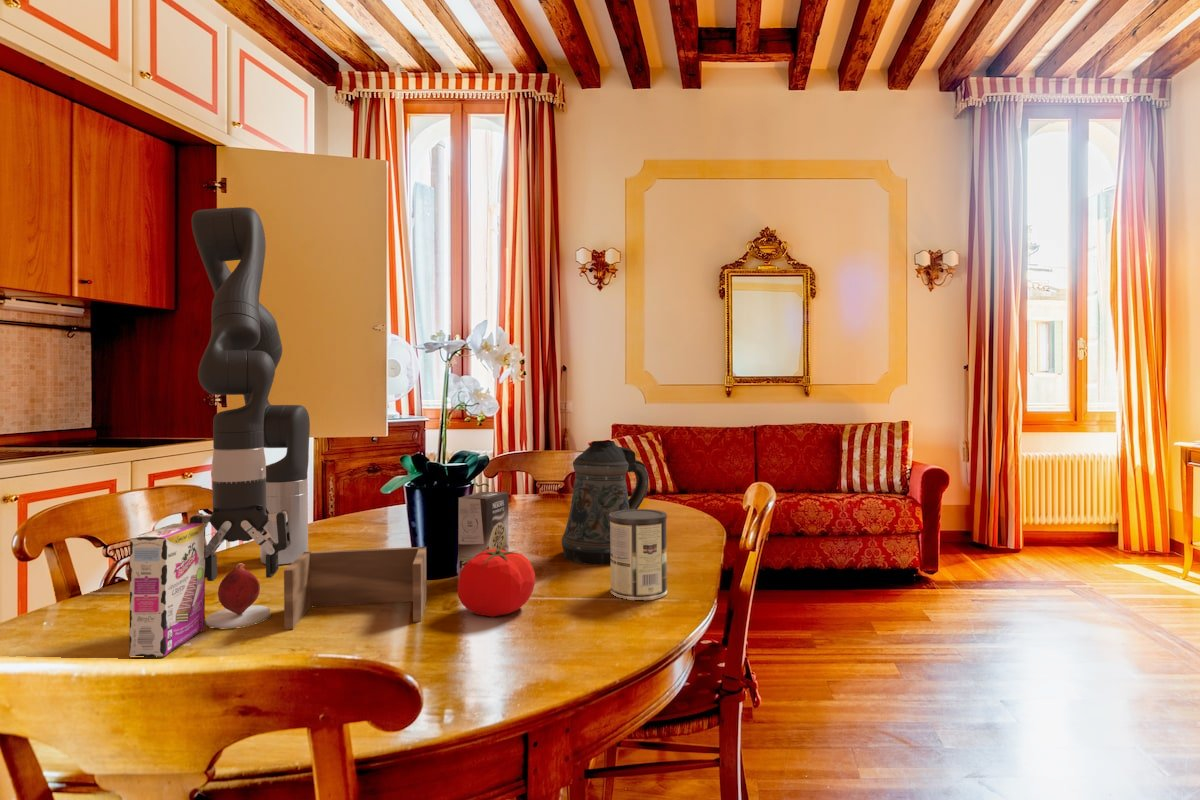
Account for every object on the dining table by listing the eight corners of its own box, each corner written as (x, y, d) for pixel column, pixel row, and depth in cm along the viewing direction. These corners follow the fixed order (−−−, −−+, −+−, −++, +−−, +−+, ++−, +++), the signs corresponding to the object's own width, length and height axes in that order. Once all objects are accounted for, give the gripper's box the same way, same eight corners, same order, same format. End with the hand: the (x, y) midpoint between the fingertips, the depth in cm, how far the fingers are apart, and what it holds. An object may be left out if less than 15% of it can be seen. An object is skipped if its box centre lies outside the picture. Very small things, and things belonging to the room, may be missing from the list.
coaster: (218, 611, 110) (218, 607, 110) (277, 608, 112) (277, 603, 112) (196, 631, 101) (196, 625, 101) (260, 627, 103) (260, 621, 103)
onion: (241, 621, 103) (241, 569, 103) (209, 619, 104) (208, 567, 104) (267, 609, 109) (267, 560, 109) (236, 607, 110) (236, 558, 110)
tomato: (452, 606, 112) (451, 545, 112) (525, 597, 117) (525, 538, 117) (466, 628, 102) (466, 560, 102) (546, 617, 107) (545, 552, 107)
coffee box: (487, 585, 125) (486, 498, 124) (457, 582, 127) (456, 496, 127) (510, 573, 133) (509, 491, 133) (481, 570, 135) (481, 490, 135)
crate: (304, 605, 113) (304, 552, 113) (426, 598, 117) (426, 546, 117) (284, 629, 101) (283, 570, 101) (421, 621, 105) (420, 564, 105)
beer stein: (546, 557, 145) (545, 442, 145) (597, 541, 161) (597, 437, 161) (609, 569, 136) (609, 445, 135) (657, 550, 152) (657, 440, 151)
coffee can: (634, 580, 127) (634, 506, 127) (678, 591, 120) (678, 513, 120) (597, 592, 120) (597, 514, 120) (642, 605, 113) (642, 521, 113)
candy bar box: (166, 658, 91) (165, 537, 91) (127, 659, 90) (126, 538, 90) (208, 629, 102) (207, 521, 102) (173, 630, 102) (172, 522, 101)
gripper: (293, 472, 111) (295, 569, 112) (199, 474, 109) (201, 574, 109) (281, 478, 104) (282, 582, 104) (179, 481, 101) (182, 588, 102)
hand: (241, 578), depth 107 cm, fingers open, 8 cm apart
